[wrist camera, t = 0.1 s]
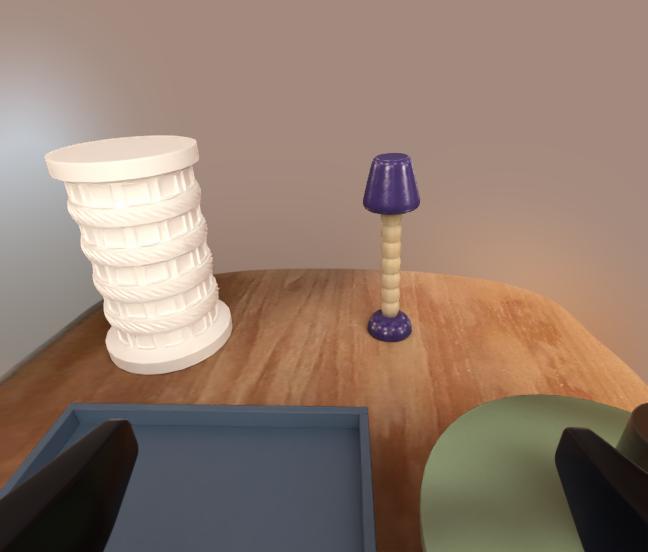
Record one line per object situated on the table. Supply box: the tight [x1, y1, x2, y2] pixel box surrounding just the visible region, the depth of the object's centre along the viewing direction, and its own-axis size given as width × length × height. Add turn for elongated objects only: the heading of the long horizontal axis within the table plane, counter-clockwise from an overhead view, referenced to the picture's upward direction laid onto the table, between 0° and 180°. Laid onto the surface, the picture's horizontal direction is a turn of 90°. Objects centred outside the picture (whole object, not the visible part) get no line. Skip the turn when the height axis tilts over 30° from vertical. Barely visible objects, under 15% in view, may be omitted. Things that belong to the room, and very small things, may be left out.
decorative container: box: [44, 135, 233, 375], centre depth 35 cm, size 12×12×18 cm
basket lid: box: [419, 394, 648, 552], centre depth 15 cm, size 16×16×7 cm
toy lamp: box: [363, 153, 420, 342], centre depth 35 cm, size 5×5×17 cm
